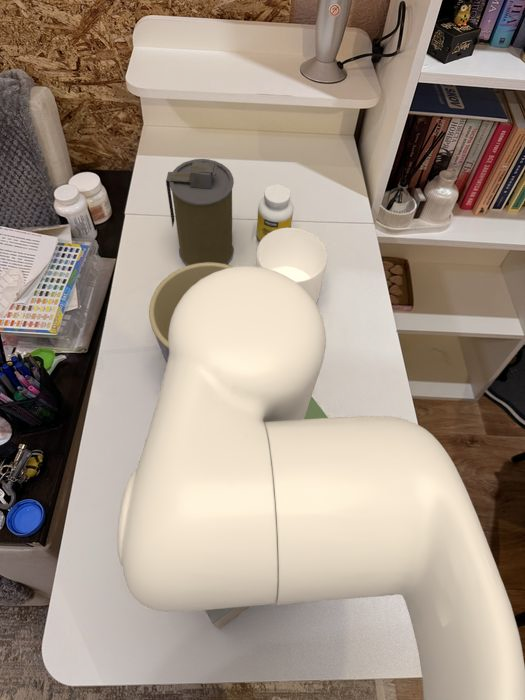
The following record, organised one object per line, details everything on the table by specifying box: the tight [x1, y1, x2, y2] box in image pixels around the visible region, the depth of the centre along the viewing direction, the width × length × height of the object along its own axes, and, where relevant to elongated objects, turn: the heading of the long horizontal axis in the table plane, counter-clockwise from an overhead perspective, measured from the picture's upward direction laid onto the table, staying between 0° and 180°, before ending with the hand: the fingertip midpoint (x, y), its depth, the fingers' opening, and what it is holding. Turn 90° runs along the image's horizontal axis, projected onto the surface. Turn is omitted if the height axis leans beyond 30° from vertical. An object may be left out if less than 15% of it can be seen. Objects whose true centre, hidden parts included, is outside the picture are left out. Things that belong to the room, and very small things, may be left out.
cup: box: [255, 227, 329, 305], centre depth 88 cm, size 12×12×12 cm
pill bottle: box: [256, 183, 294, 243], centre depth 96 cm, size 6×6×12 cm
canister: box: [165, 158, 235, 267], centre depth 89 cm, size 11×10×20 cm
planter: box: [148, 262, 234, 364], centre depth 80 cm, size 17×17×15 cm
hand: (239, 485), depth 48 cm, fingers open, 9 cm apart
